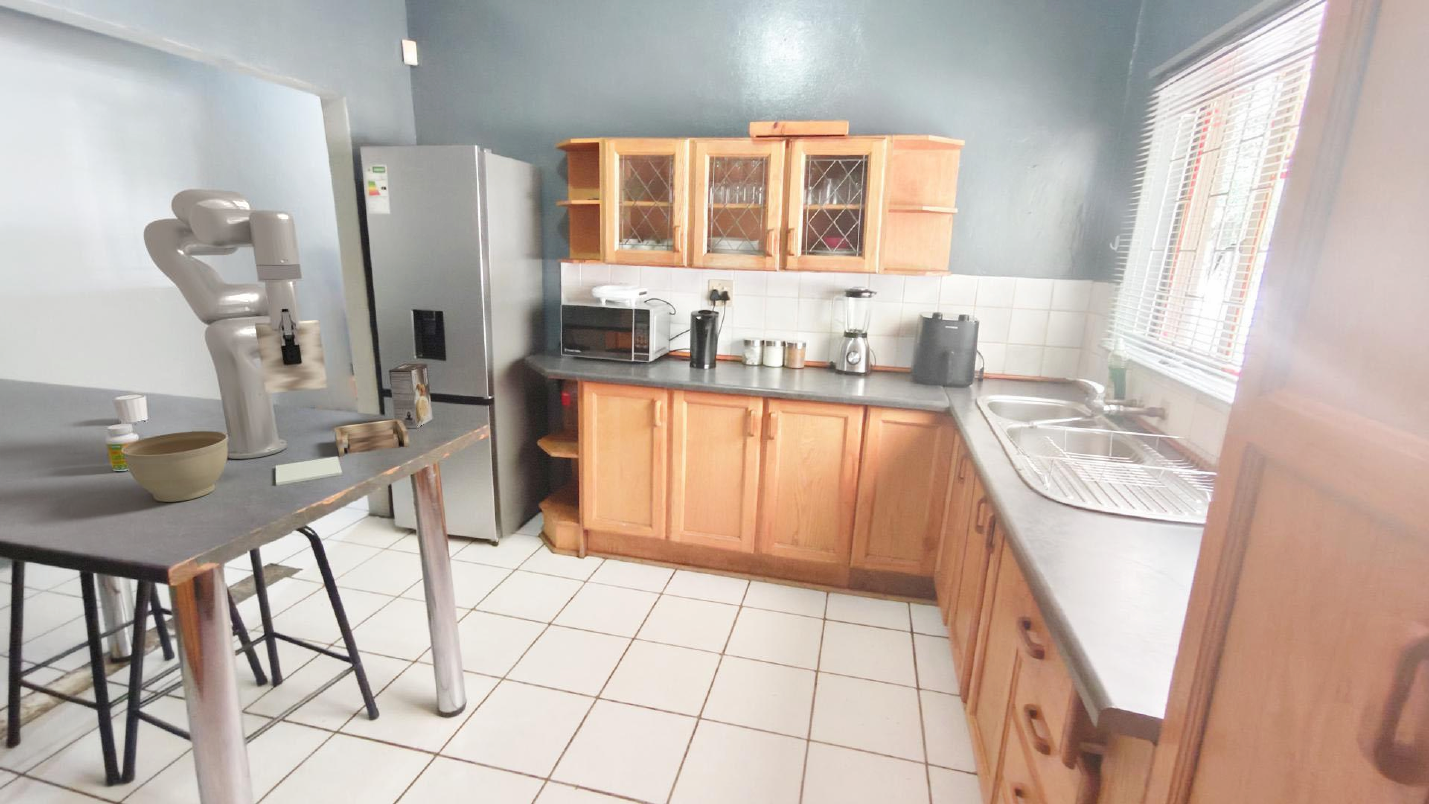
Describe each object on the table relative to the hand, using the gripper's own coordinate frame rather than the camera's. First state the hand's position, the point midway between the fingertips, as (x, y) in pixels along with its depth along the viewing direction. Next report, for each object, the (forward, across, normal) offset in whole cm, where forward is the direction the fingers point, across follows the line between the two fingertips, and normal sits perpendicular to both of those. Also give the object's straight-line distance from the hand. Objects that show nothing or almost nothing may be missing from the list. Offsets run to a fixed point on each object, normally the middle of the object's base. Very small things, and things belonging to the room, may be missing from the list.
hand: (292, 361), depth 137 cm
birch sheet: (+6, 0, 0) cm, 6 cm away
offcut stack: (+25, -11, +14) cm, 31 cm away
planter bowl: (+25, +2, -21) cm, 33 cm away
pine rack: (+25, -14, +14) cm, 32 cm away
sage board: (+25, 0, 0) cm, 25 cm away
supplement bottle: (+25, -22, -33) cm, 47 cm away
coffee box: (+25, -28, +26) cm, 46 cm away
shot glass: (+25, -67, -38) cm, 81 cm away
